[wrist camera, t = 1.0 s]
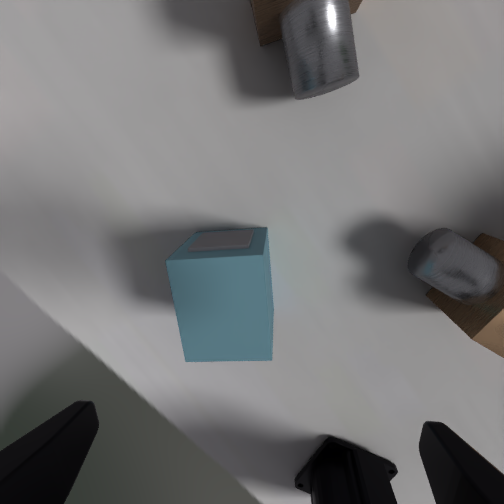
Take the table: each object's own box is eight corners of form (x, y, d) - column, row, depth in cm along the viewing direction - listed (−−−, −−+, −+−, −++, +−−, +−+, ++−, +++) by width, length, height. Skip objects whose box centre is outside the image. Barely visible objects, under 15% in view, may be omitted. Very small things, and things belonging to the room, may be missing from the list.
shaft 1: (241, -38, 14) (224, -128, 10) (343, -80, 13) (376, -200, 9) (275, 111, 16) (273, 94, 12) (365, 83, 15) (401, 53, 11)
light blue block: (273, 310, 20) (272, 363, 15) (208, 313, 21) (186, 364, 16) (267, 224, 18) (262, 250, 13) (195, 229, 19) (164, 256, 14)
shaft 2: (529, 262, 18) (616, 299, 13) (470, 321, 19) (528, 372, 15) (438, 205, 17) (496, 223, 13) (384, 271, 19) (418, 308, 14)
